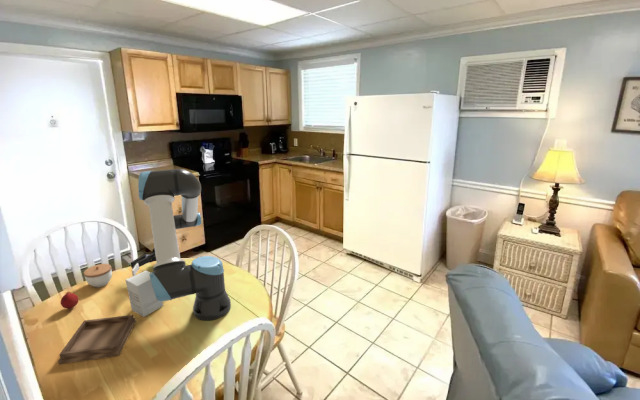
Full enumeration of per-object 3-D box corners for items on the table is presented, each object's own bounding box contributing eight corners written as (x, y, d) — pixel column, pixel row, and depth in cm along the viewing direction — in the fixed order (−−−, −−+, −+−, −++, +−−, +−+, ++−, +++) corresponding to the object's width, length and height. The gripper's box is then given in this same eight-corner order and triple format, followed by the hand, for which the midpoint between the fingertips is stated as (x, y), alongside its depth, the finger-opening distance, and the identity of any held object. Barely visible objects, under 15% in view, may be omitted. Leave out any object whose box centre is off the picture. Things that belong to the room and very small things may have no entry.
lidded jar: (88, 292, 141) (83, 274, 139) (86, 282, 149) (82, 265, 146) (115, 284, 148) (111, 267, 145) (112, 275, 156) (108, 258, 153)
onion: (70, 313, 128) (66, 297, 125) (59, 311, 129) (54, 295, 126) (83, 305, 133) (79, 289, 131) (72, 303, 134) (68, 287, 132)
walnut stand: (136, 321, 124) (134, 313, 123) (119, 355, 108) (117, 347, 107) (85, 327, 120) (83, 319, 119) (59, 364, 104) (56, 355, 103)
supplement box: (151, 299, 138) (146, 269, 133) (163, 305, 134) (158, 275, 129) (130, 310, 131) (124, 279, 126) (143, 317, 126) (137, 286, 122)
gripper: (189, 254, 161) (181, 276, 142) (136, 258, 156) (120, 282, 136) (187, 241, 159) (179, 261, 139) (133, 244, 154) (117, 267, 134)
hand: (150, 271), depth 138 cm, fingers open, 13 cm apart
